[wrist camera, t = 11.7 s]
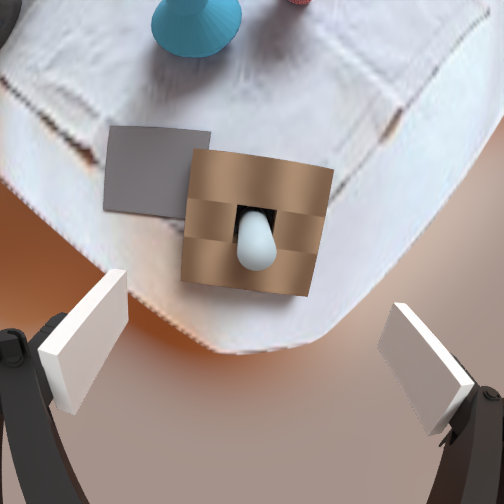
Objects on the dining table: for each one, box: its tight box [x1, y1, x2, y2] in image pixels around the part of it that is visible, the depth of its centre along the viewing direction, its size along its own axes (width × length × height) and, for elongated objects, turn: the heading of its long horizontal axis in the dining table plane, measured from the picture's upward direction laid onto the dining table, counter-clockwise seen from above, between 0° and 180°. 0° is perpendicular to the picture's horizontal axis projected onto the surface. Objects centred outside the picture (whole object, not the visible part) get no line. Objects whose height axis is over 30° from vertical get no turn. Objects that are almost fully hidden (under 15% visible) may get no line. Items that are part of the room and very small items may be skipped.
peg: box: [237, 206, 277, 271], centre depth 29 cm, size 3×3×12 cm
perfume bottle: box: [151, 0, 242, 58], centre depth 21 cm, size 9×9×15 cm
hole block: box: [181, 148, 334, 297], centre depth 33 cm, size 14×14×4 cm
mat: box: [103, 126, 211, 219], centre depth 33 cm, size 12×10×1 cm
